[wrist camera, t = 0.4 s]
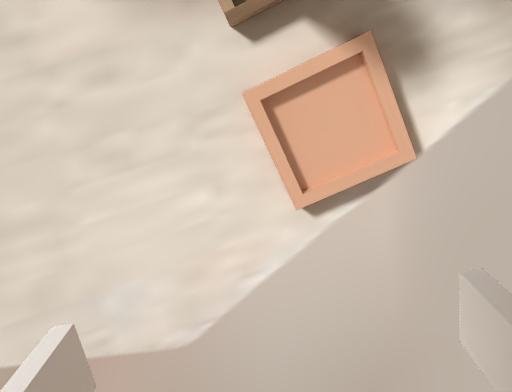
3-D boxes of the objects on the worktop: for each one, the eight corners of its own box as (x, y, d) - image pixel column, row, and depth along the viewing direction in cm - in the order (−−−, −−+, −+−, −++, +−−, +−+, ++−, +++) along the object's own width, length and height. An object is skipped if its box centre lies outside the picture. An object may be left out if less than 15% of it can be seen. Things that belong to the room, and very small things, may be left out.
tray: (243, 92, 36) (241, 93, 35) (365, 32, 35) (371, 30, 33) (294, 203, 40) (296, 210, 38) (409, 154, 38) (416, 158, 36)
